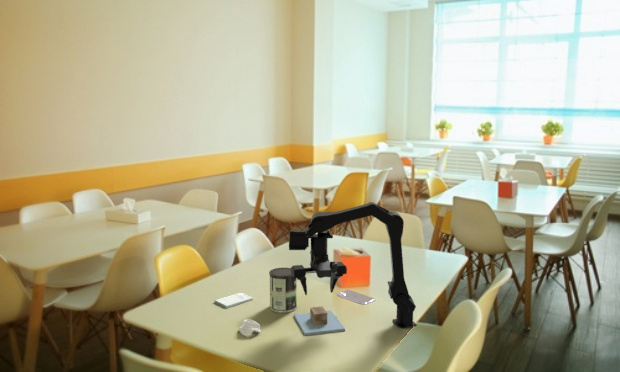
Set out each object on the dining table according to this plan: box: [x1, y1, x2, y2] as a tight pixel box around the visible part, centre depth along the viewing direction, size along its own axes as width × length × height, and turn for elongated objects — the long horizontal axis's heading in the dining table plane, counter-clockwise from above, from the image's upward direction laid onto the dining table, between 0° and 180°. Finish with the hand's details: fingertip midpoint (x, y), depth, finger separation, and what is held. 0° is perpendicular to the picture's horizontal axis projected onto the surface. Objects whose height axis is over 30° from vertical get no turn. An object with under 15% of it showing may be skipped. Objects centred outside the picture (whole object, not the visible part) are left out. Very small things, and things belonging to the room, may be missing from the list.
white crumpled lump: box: [238, 319, 262, 337], centre depth 175 cm, size 8×7×5 cm
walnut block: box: [309, 306, 327, 325], centre depth 182 cm, size 4×6×4 cm
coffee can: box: [268, 267, 298, 314], centre depth 195 cm, size 10×10×14 cm
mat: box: [293, 310, 346, 336], centre depth 182 cm, size 16×14×1 cm
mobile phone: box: [336, 289, 376, 306], centre depth 206 cm, size 8×1×15 cm
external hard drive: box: [213, 292, 254, 309], centre depth 202 cm, size 2×8×12 cm
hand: (318, 293), depth 180 cm, fingers open, 9 cm apart
